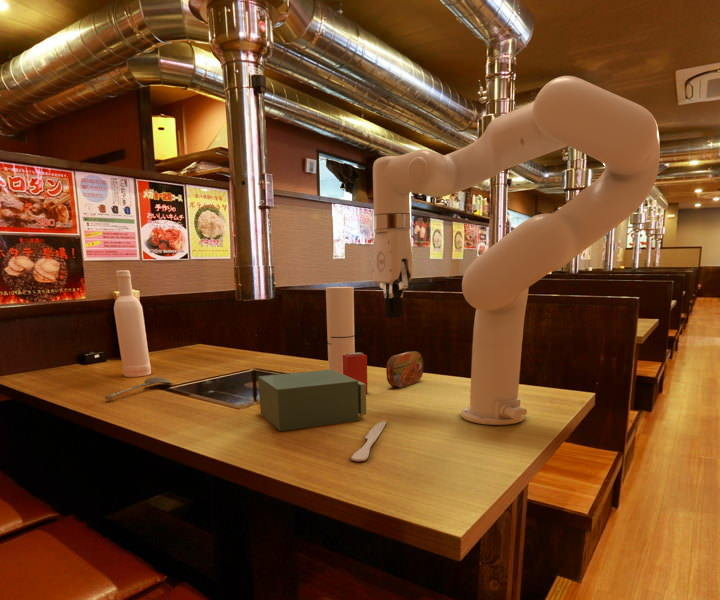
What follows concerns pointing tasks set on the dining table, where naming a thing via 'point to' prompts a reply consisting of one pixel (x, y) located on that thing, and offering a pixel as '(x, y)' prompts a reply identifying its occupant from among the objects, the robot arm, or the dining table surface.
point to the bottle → (131, 329)
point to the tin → (404, 369)
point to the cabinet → (308, 399)
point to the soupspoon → (147, 382)
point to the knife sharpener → (355, 366)
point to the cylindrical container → (339, 325)
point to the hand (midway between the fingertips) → (393, 317)
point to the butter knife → (368, 442)
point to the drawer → (361, 398)
